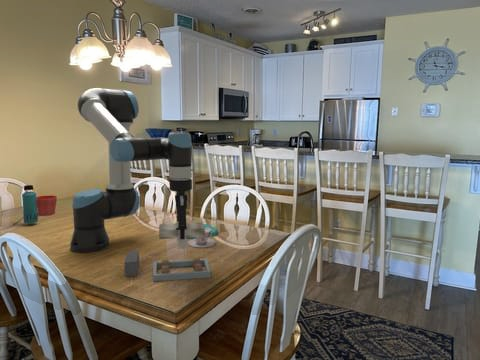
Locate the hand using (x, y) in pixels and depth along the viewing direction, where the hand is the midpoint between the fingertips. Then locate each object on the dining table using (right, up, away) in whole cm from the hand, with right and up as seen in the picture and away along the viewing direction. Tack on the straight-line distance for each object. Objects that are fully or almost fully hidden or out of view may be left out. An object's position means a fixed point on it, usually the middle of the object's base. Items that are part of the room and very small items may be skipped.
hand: (181, 243), depth 126 cm
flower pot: (-88, +3, +79) cm, 118 cm away
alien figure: (-1, -4, +48) cm, 48 cm away
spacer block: (-18, -10, +3) cm, 21 cm away
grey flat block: (0, +3, 0) cm, 3 cm away
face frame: (0, -10, +2) cm, 10 cm away
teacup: (+3, -6, +33) cm, 34 cm away
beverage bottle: (-84, 0, +57) cm, 102 cm away
